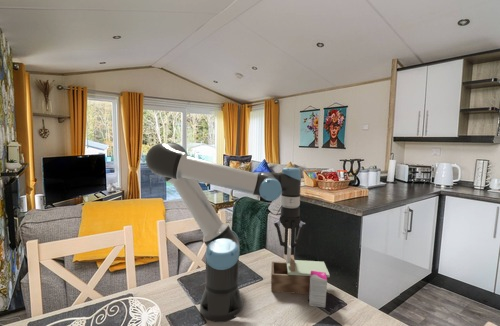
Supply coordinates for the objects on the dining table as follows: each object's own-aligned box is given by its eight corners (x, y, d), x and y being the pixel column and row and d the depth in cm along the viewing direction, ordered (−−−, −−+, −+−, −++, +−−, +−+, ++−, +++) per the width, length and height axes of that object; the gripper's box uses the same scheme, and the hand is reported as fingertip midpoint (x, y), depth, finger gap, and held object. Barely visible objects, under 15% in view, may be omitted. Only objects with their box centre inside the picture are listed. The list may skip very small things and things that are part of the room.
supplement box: (325, 310, 94) (327, 280, 92) (308, 307, 95) (310, 277, 94) (324, 300, 99) (326, 272, 98) (308, 298, 100) (310, 270, 99)
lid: (288, 274, 101) (288, 265, 101) (286, 261, 112) (286, 252, 112) (329, 277, 100) (330, 267, 100) (323, 263, 111) (324, 255, 111)
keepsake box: (271, 293, 103) (271, 274, 102) (271, 279, 114) (271, 261, 113) (312, 296, 101) (313, 277, 101) (308, 281, 112) (308, 263, 112)
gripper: (274, 207, 101) (272, 265, 103) (308, 208, 100) (305, 267, 102) (274, 203, 109) (272, 257, 111) (305, 204, 108) (303, 258, 110)
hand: (288, 261), depth 107 cm, fingers closed
